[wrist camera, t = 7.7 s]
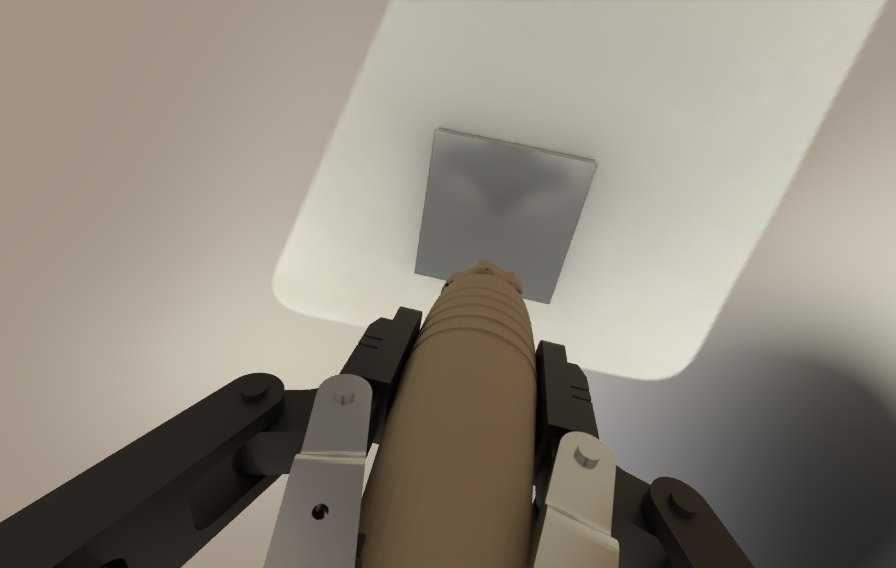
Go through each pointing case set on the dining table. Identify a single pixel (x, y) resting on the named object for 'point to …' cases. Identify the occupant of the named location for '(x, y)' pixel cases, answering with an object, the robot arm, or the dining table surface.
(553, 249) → the plate
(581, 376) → the robot arm
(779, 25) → the dining table surface
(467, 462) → the handle
